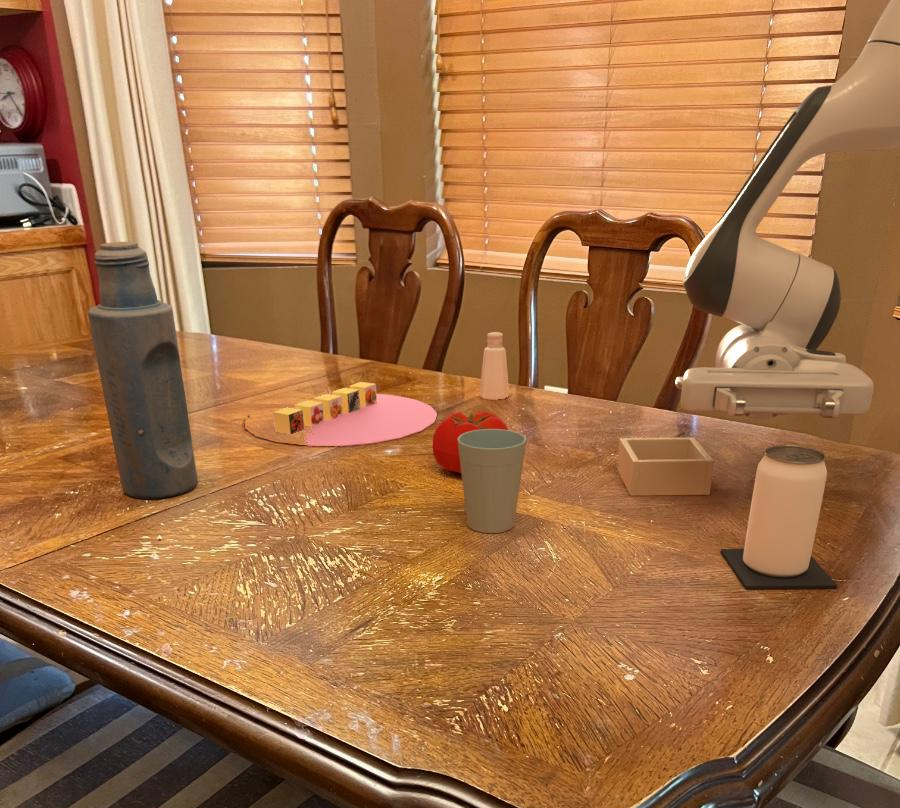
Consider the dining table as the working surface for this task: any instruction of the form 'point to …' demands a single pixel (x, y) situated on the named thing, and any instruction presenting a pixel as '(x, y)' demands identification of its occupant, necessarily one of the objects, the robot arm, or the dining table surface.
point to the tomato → (453, 428)
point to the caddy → (664, 466)
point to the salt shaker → (494, 369)
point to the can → (785, 510)
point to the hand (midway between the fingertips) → (784, 409)
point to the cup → (491, 477)
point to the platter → (355, 417)
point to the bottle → (141, 376)
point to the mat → (754, 580)
